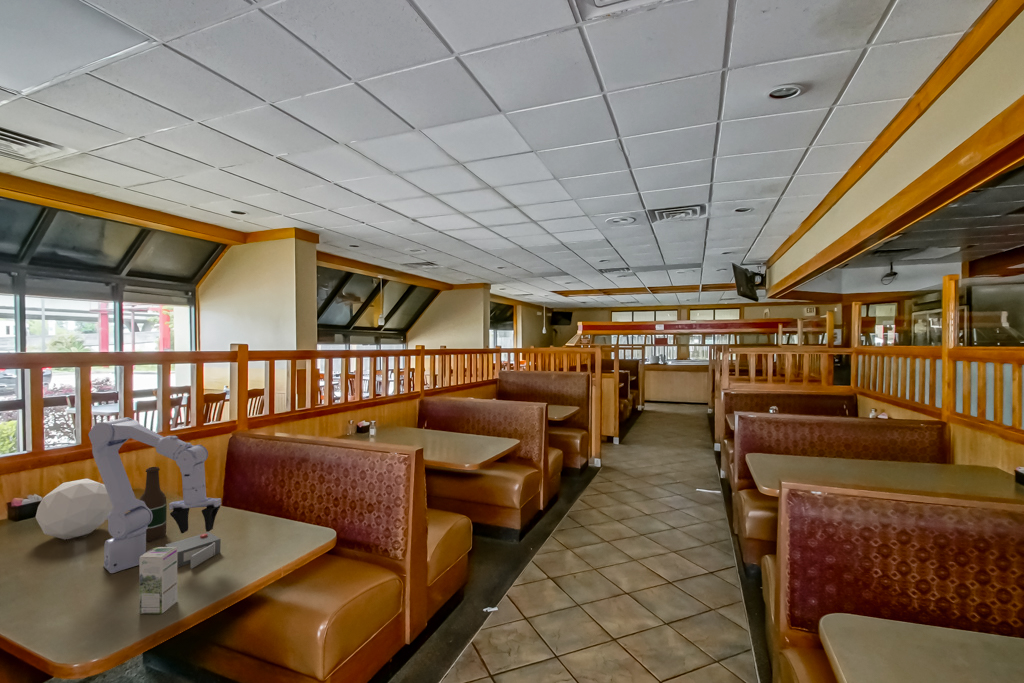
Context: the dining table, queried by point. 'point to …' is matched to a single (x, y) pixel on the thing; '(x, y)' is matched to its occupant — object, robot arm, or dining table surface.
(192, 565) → the side door
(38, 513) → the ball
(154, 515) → the beer bottle
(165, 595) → the syrup box
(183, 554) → the camera body
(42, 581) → the dining table surface
